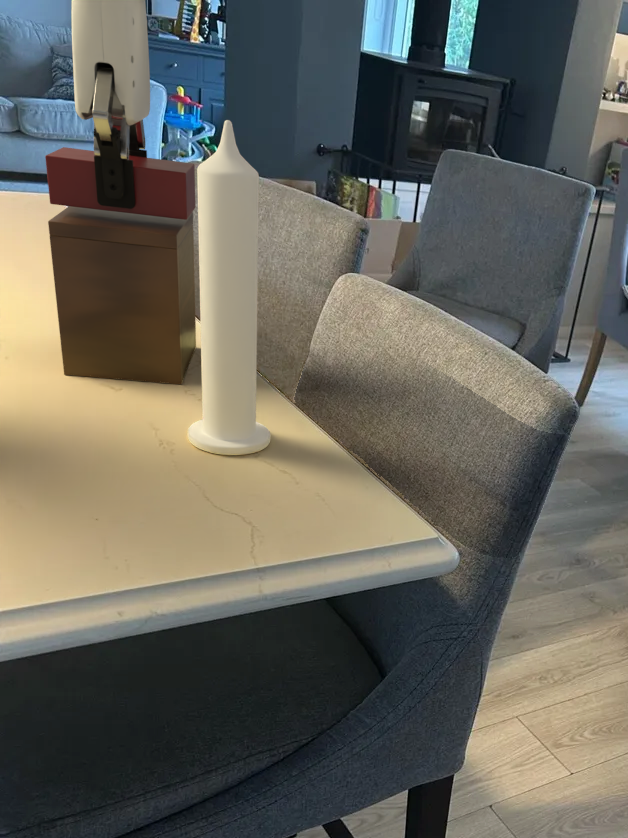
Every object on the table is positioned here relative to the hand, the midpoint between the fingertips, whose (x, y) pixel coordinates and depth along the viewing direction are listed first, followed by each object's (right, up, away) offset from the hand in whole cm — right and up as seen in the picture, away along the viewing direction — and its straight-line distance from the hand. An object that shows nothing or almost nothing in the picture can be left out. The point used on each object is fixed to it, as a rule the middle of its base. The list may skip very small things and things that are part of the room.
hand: (124, 198), depth 83 cm
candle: (+11, -24, -5) cm, 27 cm away
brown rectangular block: (-2, -13, +8) cm, 16 cm away
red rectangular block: (0, -1, 0) cm, 1 cm away
